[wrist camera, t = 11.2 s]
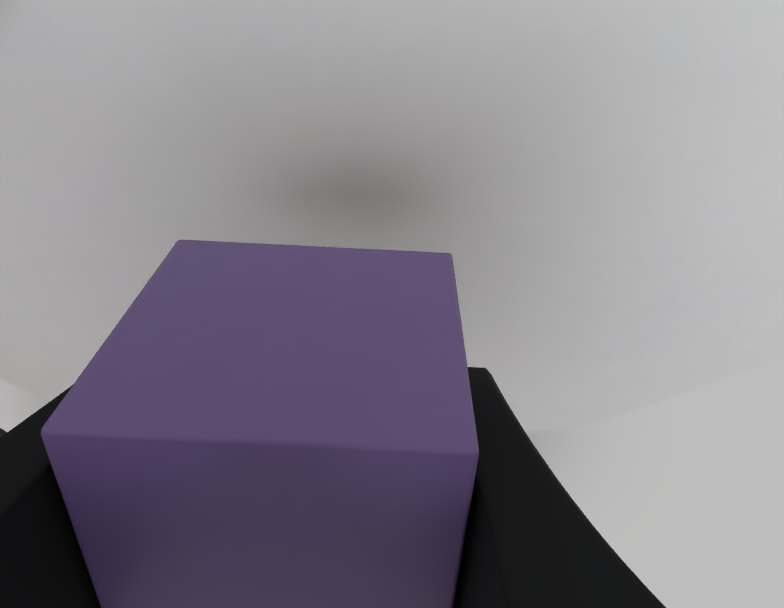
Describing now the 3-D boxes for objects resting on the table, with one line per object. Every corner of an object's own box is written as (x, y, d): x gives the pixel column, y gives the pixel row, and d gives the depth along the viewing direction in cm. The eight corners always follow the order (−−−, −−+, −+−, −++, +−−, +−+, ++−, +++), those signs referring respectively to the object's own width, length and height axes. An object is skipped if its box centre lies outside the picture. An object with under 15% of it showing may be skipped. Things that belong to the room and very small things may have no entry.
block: (430, 450, 12) (441, 684, 8) (208, 439, 12) (119, 669, 8) (452, 251, 10) (480, 451, 6) (178, 238, 10) (37, 430, 6)
